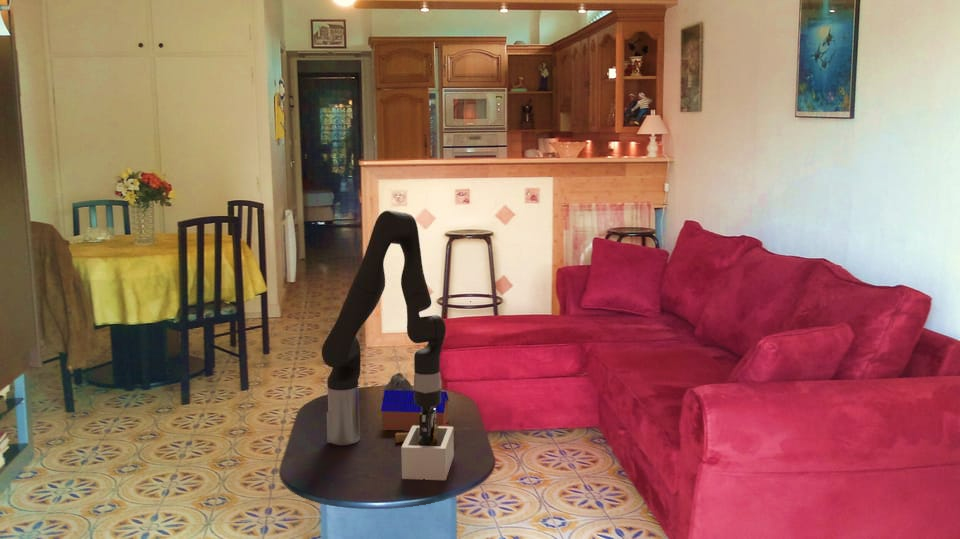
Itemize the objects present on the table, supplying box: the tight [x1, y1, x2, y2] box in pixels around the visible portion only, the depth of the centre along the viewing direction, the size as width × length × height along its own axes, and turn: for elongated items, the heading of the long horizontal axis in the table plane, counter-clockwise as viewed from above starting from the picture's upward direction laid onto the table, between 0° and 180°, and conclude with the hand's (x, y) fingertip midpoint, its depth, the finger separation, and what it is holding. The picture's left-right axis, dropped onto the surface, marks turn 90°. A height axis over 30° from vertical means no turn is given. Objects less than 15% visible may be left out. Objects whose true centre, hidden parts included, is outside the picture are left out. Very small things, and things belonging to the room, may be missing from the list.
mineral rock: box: [383, 372, 414, 395], centre depth 294 cm, size 13×11×10 cm
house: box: [380, 390, 450, 432], centre depth 268 cm, size 12×20×12 cm, turn 84°
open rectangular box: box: [400, 426, 455, 481], centre depth 234 cm, size 12×17×9 cm
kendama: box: [394, 423, 456, 444], centre depth 253 cm, size 8×6×18 cm
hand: (428, 442), depth 234 cm, fingers open, 8 cm apart
